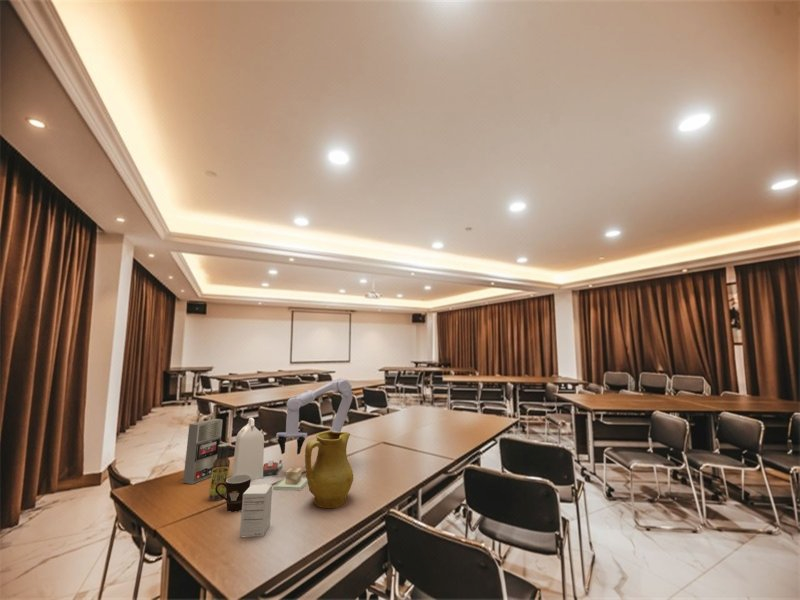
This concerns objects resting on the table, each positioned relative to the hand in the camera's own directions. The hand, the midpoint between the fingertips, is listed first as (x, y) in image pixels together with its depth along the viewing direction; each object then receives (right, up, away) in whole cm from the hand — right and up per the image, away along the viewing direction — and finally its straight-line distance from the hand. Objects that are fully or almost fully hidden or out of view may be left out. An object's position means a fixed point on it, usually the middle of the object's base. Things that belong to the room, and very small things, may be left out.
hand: (290, 453), depth 152 cm
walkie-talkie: (-12, -12, +7) cm, 18 cm away
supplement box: (+5, -2, -49) cm, 50 cm away
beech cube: (+5, -7, -11) cm, 14 cm away
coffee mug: (-10, -4, -33) cm, 35 cm away
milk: (-20, -10, -3) cm, 22 cm away
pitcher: (+24, -5, -28) cm, 38 cm away
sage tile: (+5, -8, -12) cm, 15 cm away
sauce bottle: (-21, -6, -25) cm, 33 cm away
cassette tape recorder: (-40, -10, -5) cm, 41 cm away
